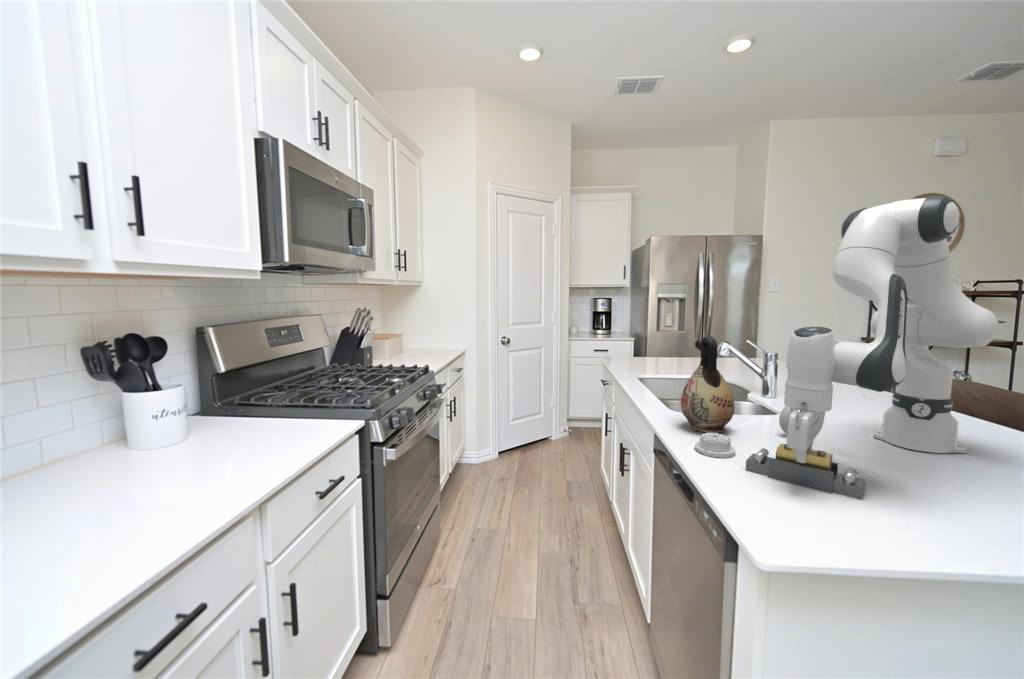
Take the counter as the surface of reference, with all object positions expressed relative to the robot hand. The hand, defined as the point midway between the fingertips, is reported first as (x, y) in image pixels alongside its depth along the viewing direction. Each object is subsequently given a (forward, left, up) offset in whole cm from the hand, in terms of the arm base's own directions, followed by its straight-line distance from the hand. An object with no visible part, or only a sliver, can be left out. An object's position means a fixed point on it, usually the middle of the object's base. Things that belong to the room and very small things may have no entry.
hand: (803, 458), depth 98 cm
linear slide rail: (0, 0, -5) cm, 5 cm away
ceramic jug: (-22, -29, -5) cm, 36 cm away
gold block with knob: (0, 0, -2) cm, 2 cm away
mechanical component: (-5, -21, -6) cm, 22 cm away
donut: (-34, -8, -5) cm, 35 cm away
